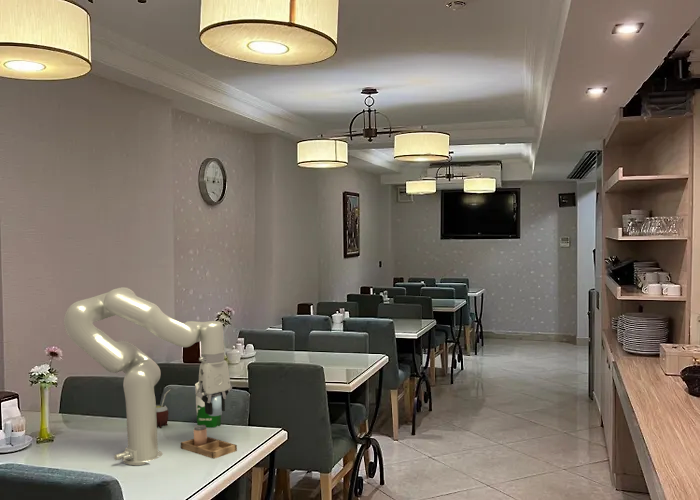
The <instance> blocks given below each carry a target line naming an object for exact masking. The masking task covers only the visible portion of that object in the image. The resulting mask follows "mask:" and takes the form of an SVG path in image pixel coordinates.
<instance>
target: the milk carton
mask: <svg viewBox="0 0 700 500" xmlns="http://www.w3.org/2000/svg"><path fill="white" fill-rule="evenodd" d="M194 387H195V388H194V389H195V394H196V393H197V391H198V389H199V381H198V382H196V383H195V384H194ZM202 394H203V395H204V393H202ZM207 397H208V395H207ZM195 411H196V412H195V413H196V426H197V425H206V428H207V429H208V428H210V429H211V428H217V427H220V426H221V423H222V422H221V420H222V419H221V418H222V415H219V416H209V414H206V413H205V402H203V400H201V399H200V398H199V397H197V396H196V395H195Z"/></svg>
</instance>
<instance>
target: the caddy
mask: <svg viewBox="0 0 700 500" xmlns="http://www.w3.org/2000/svg"><path fill="white" fill-rule="evenodd" d="M237 447H238V445H237V444H234V443H231V442H228V441H224V440H221V439H217V438H213V437H209V436H207V444H204V445H201V446H194V438H192V439H187V440H185V441H181V442H180V449H182V450H185V451H188V452H191V453H195V454H197V455H201V456H204V457H205V458H206V457H207V458H210V459H217V458H220V457H224V456H227V455H229V454H232V453H235V452H237V451H238V449H237Z"/></svg>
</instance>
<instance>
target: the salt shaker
mask: <svg viewBox="0 0 700 500" xmlns="http://www.w3.org/2000/svg"><path fill="white" fill-rule="evenodd" d="M211 403H212V409H213V414H212V415H209V416H219V415H221V416H222V415H223V411H222V401H221V392H218V393H214V394H212V396H211Z"/></svg>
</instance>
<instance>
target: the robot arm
mask: <svg viewBox="0 0 700 500" xmlns="http://www.w3.org/2000/svg"><path fill="white" fill-rule="evenodd" d="M115 316H117V317H120V318H121V319H123V320H126V321H129V322H131V323H133V324H134V325H138V326H139V327H142V328H144V329H145V330H147V332H150V333H152V334H153V335H154V336H156V337H158V338H159V339H161V340H163V341H166V342H168V343H170V344H173V345H175V346H178V347H179V348H180V347H181V348H189V347H191V346H193V345H194V344H195V343H199V342H200V352H201V353H200V355H201V356H200V357H199V358H198V360H199V362H201V363H200V365H199V372H198V382H199V389H198V391H197V393H196V392H195V397H196V396H197V397H199V398H200V399H201V400H203V402H205V413H206V414H209V415H212V414H213V409H212V403H211V396H212V394H214V393H218V392H221V401H222V412H225V411H226V399H227V396H228V394H229V393H230V391H231V390H232V388H233V386H232V384H231V377H230V370H229V365H228V362H227V360H226V359H225V346H224V325H223V323H222V322H221V321H218V320H209V321H195V320H188V321H185V322H181V321H179V320H177V319H174V318H172V317H170V316H169V315H167V314H166V313H164V312H163V311H162V309H161V308H160V307H159V306H158V305H157V304H156V303H153V302H151V301H149V300H147V299H144V298H142V297H140V296H137V295H136V292H134V290H132V289H130V288H129V287H126V286H125V287H124V286H123V287H122V286H121V287H118V288H117V287H116V288H114V289H111V290H110V291H108V292H104V293H102V294H98V295H95V296H92V297H88V298H85V299H81V300H77V301H75V302H74V303H72V304H71V305H69V306H68V308H67V309H66V312H65V314H64V318H63V324H64V325H63V326H64V330H65V333H66V335H68V338H69V339H70V340H71V341H72V342H73V343H74V344H75V345H76V346H77V347H79V349H81V350H83V351H84V352H85V353H86V355H87V354H88V356H89V357H90V358H91V359H93V360H94V361H95V362H97V363H98V365H100V366H101V367H102V368H104V369H105V370H106V371H108V372H109V373H113V374H115V373H116V374H117V373H120V372H123V373H124V374H125V375H124V377H123V383H122V384H123V392H124V399H125V411H126V412H125V414H126V429H127V430H126V431H127V434H126V435H127V436H126V437H127V447H124V451H122V452H120V453H116V454H114V456H113V458H114V460H115V461H118V460H122V461H123V463H124V464H125V465H127V466H128V465H129V466H144V465H150V463H149V462H150V461H154V460H156V459H159V458H161V457H162V456H163V454H164V453H163V451H160V450H159V446H158V427H157V417H156V405H157V403H156V401H157V400H156V396H155V386H156V385H157V384H158V383H159V381H160V379H161V372H162V371H161V369H160V366H159V365H158V363H156V362H155V361H154V360H153V359H152V358H151V357H150V356H148V355H147V354H146V353H144V352H143V351H142V350H141V349H139V348H138V347H137V346H136V345H135V344H133V343H132V342H130V341H127V340H118V341H116V340H114V339H113V338H112V337H110V336H109V335H108V334H106V332H105V331H103V330H102V329H99V328H98V327H96V326H95V324H94V323H96V322H99V321H102V320H104V319H108V318H111V317H115ZM202 393H204V395H203V394H202ZM207 395H208V397H207Z"/></svg>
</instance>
